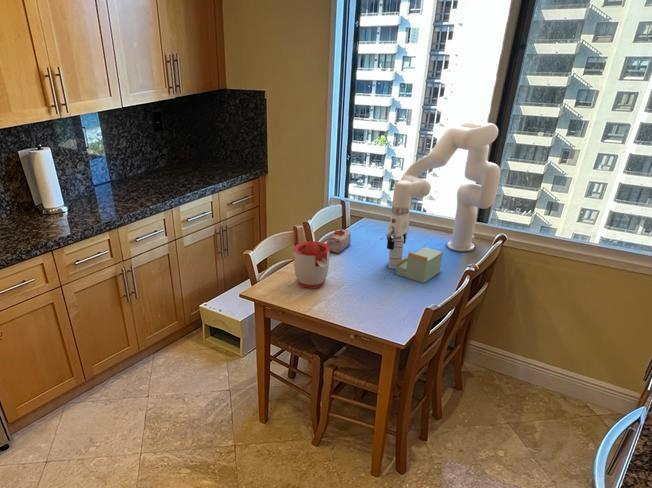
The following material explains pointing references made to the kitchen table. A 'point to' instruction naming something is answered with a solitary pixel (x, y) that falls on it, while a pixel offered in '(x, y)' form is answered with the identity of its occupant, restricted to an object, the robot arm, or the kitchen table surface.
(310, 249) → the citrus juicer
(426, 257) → the stepped box
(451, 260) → the kitchen table surface
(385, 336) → the kitchen table surface
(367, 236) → the kitchen table surface
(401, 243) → the syrup box
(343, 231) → the food item
